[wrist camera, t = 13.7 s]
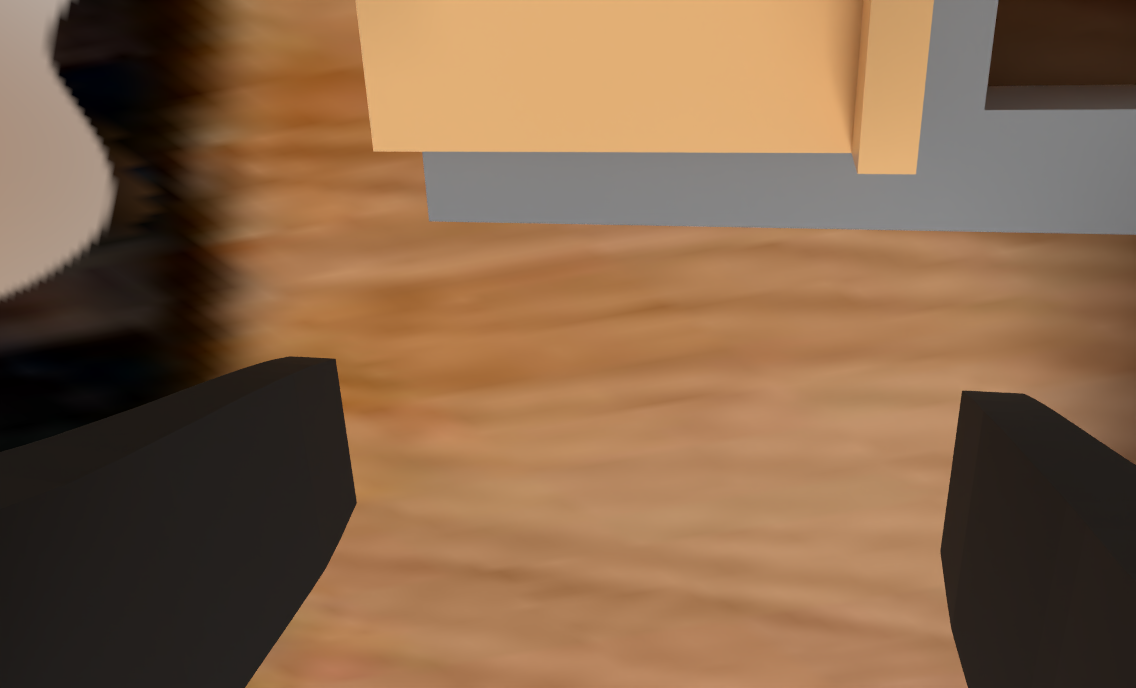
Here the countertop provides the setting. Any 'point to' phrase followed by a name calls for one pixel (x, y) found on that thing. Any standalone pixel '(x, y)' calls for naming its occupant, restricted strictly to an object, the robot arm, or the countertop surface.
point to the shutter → (649, 76)
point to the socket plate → (849, 165)
